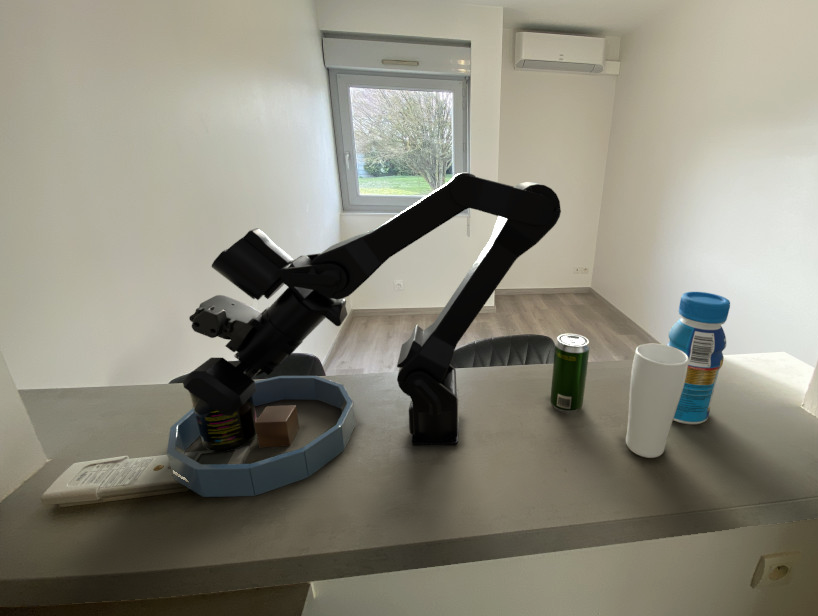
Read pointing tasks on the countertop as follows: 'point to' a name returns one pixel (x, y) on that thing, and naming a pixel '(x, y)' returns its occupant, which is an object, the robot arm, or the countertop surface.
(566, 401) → the beer can
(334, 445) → the blue polygonal ring
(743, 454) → the countertop surface
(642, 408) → the drinking glass
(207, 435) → the supplement container
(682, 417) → the beverage bottle
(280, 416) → the walnut block
